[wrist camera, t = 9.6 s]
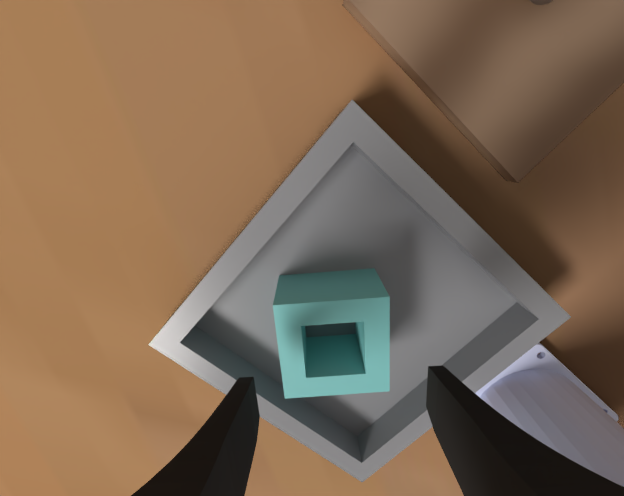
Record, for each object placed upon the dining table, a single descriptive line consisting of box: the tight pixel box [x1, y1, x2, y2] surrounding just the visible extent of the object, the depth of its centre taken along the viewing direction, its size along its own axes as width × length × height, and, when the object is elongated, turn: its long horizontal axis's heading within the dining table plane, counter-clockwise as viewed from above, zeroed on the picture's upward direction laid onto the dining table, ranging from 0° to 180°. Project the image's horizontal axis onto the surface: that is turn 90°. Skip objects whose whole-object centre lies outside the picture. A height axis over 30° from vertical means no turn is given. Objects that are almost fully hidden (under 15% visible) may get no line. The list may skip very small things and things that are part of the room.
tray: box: [149, 100, 571, 482], centre depth 18 cm, size 16×16×2 cm
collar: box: [273, 268, 390, 399], centre depth 17 cm, size 5×5×4 cm
